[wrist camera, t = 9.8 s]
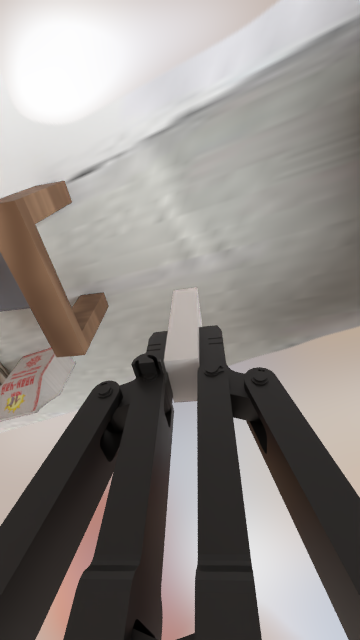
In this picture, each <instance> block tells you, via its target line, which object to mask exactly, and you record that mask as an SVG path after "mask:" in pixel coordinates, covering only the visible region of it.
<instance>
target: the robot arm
mask: <svg viewBox="0 0 360 640" xmlns="http://www.w3.org/2000/svg"><path fill="white" fill-rule="evenodd" d="M132 367H133V370H134V373H135V376H136V379H135V380H133V381H131V382H129V383H126V384H123V385H120V386H119V384H118V383H117V382H114V381H105V382H102V383H100V384H99V385H97V386H96V387H95V388H94V389H93V390H92V392H91V393H90V394H89V396H88V397H87V399H86V400H85V402H84V403H83V405H82V406H81V408H80V409H79V411H78V412H77V414H76V415H75V417H74V418H73V420H72V421H71V423H70V424H69V426H68V427H67V429H66V430H65V431H64V433H63V434H62V436H61V437H60V439H59V440H58V442H57V443H56V445H55V446H54V448H53V449H52V451H51V452H50V454H49V455H48V457H47V458H46V460H45V461H44V462H43V464H42V465H41V467H40V468H39V470H38V471H37V473H36V474H35V476H34V477H33V479H32V480H31V482H30V483H29V485H28V486H27V488H26V489H25V490H24V492H23V493H22V495H21V496H20V498H19V499H18V501H17V502H16V504H15V505H14V507H13V508H12V510H11V511H10V513H9V514H8V516H7V517H6V519H5V520H4V522H3V523H2V524H1V526H0V640H35V639H36V637H37V635H38V633H39V631H40V629H41V626H42V624H43V622H44V620H45V618H46V615H47V614H48V611H49V609H50V607H51V605H52V603H53V601H54V599H55V596H56V594H57V592H58V590H59V588H60V586H61V583H62V581H63V579H64V577H65V575H66V573H67V571H68V568H69V566H70V564H71V562H72V560H73V558H74V556H75V553H76V551H77V549H78V547H79V545H80V542H81V540H82V538H83V536H84V534H85V532H86V530H87V528H88V525H89V523H90V521H91V519H92V517H93V515H94V512H95V510H96V508H97V506H98V504H99V502H100V500H101V497H102V495H103V493H104V491H105V489H106V487H107V484H108V482H109V480H110V478H111V476H112V474H113V477H112V481H111V486H110V490H109V494H108V498H107V502H106V507H105V511H104V515H103V519H102V524H101V528H100V532H99V536H98V541H97V545H96V549H95V553H94V557H93V560H92V562H91V564H90V566H89V567H88V568H87V569H86V570H85V571H84V572H83V574H82V576H81V578H80V580H79V583H78V586H77V589H76V593H75V597H74V601H73V604H72V609H71V612H70V616H69V620H68V624H67V628H66V632H65V635H64V639H63V640H161V636H162V635H161V634H162V601H161V581H162V567H163V553H164V539H165V526H166V511H167V499H168V485H169V471H170V457H171V444H172V430H173V416H174V410H173V405H172V399H174V402H188V401H198V403H197V406H198V407H197V415H198V416H197V417H198V421H197V423H198V424H197V425H198V427H197V429H198V565H197V569H196V577H195V633H194V634H191V635H189V636H186V637H183V638H180V639H177V640H262V639H261V631H260V623H259V616H258V607H257V600H256V592H255V584H254V577H253V570H252V564H251V558H250V549H249V541H248V533H247V525H246V518H245V509H244V501H243V494H242V485H241V477H240V469H239V462H238V454H237V446H236V438H235V430H234V423H233V417H234V418H239V419H243V420H246V421H247V424H248V426H249V428H250V430H251V432H252V434H253V436H254V438H255V441H256V443H257V445H258V447H259V449H260V451H261V453H262V456H263V458H264V460H265V462H266V464H267V466H268V468H269V470H270V473H271V475H272V477H273V479H274V481H275V483H276V485H277V487H278V490H279V492H280V494H281V496H282V498H283V500H284V502H285V505H286V507H287V509H288V511H289V513H290V515H291V517H292V519H293V522H294V524H295V526H296V528H297V530H298V532H299V534H300V536H301V539H302V541H303V543H304V545H305V547H306V549H307V551H308V554H309V556H310V558H311V560H312V562H313V564H314V566H315V569H316V571H317V573H318V575H319V577H320V579H321V581H322V584H323V586H324V588H325V590H326V592H327V594H328V596H329V598H330V600H331V603H332V604H333V607H334V609H335V611H336V613H337V616H338V617H339V620H340V622H341V624H342V626H343V628H344V630H345V633H346V635H347V637H348V639H349V640H360V497H359V496H358V495H357V493H356V492H355V490H354V489H353V487H352V486H351V484H350V483H349V481H348V480H347V479H346V477H345V476H344V474H343V473H342V471H341V470H340V468H339V467H338V465H337V464H336V463H335V461H334V460H333V458H332V457H331V455H330V454H329V452H328V451H327V449H326V448H325V447H324V445H323V444H322V442H321V441H320V439H319V438H318V436H317V435H316V434H315V432H314V431H313V429H312V428H311V426H310V425H309V423H308V422H307V420H306V419H305V417H304V416H303V415H302V413H301V412H300V410H299V409H298V407H297V406H296V404H295V403H294V402H293V400H292V399H291V397H290V396H289V394H288V393H287V391H286V390H285V389H284V387H283V386H282V384H281V383H280V381H279V380H278V378H277V377H276V376H275V374H274V373H273V372H272V371H270V370H268V369H266V368H260V367H259V368H253V369H250V370H248V371H247V373H245V374H243V373H238V372H235V371H232V370H231V369H230V368H229V367H228V366H227V365H226V361H225V353H224V346H223V338H222V331H221V329H220V328H219V327H218V326H217V325H216V326H207V327H202V318H201V311H200V304H199V297H198V290H197V287H194V288H186V289H178V290H173V297H172V304H171V311H170V319H169V326H168V331H164V332H155V333H153V335H152V336H151V337H150V338H149V342H148V347H147V351H146V354H142V355H140V356H138V357H137V358H135V359H134V360H133V362H132ZM113 472H114V473H113Z"/></svg>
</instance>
